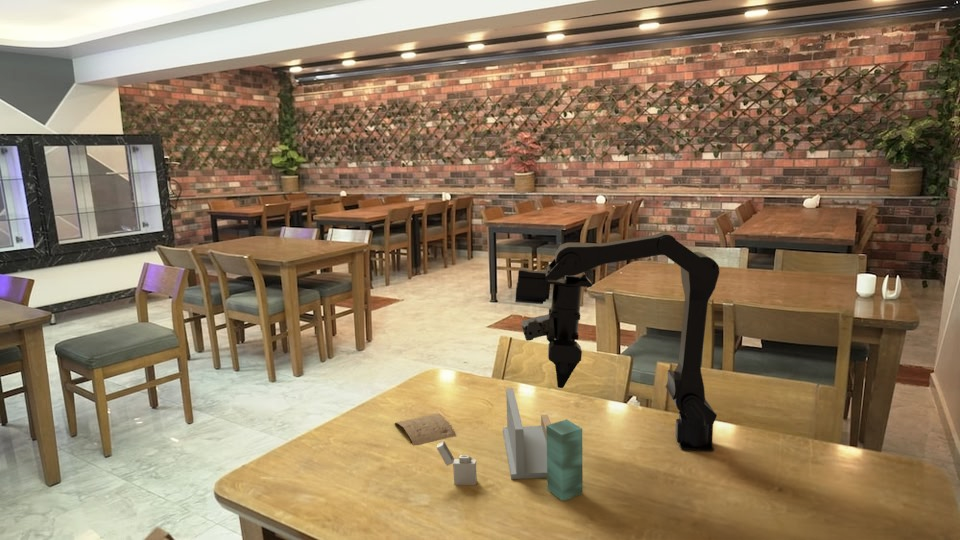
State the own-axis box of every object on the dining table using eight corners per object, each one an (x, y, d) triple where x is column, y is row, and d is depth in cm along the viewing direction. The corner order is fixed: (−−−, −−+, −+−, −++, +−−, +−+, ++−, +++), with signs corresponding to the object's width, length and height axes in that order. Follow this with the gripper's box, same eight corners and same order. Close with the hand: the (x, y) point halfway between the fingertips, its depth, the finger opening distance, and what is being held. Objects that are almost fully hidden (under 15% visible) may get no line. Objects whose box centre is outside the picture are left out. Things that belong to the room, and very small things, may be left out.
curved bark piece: (458, 439, 133) (457, 427, 132) (415, 450, 128) (414, 439, 128) (432, 415, 145) (431, 405, 145) (391, 425, 141) (391, 414, 140)
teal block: (567, 482, 113) (566, 419, 111) (582, 493, 109) (582, 428, 107) (547, 489, 111) (546, 425, 108) (562, 501, 107) (561, 435, 105)
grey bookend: (552, 429, 135) (551, 386, 133) (569, 476, 115) (568, 426, 113) (502, 431, 134) (501, 388, 132) (511, 479, 115) (509, 429, 113)
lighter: (476, 480, 115) (475, 440, 113) (476, 484, 113) (474, 445, 112) (439, 479, 115) (437, 440, 114) (438, 484, 114) (436, 444, 112)
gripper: (525, 292, 132) (520, 360, 135) (525, 315, 114) (519, 393, 117) (577, 296, 131) (571, 364, 134) (585, 319, 113) (577, 398, 116)
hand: (559, 379), depth 125 cm, fingers open, 9 cm apart
